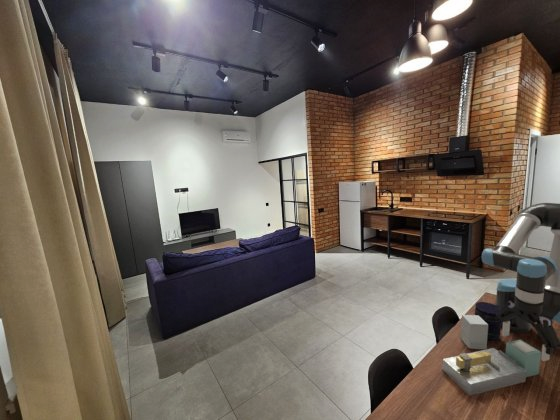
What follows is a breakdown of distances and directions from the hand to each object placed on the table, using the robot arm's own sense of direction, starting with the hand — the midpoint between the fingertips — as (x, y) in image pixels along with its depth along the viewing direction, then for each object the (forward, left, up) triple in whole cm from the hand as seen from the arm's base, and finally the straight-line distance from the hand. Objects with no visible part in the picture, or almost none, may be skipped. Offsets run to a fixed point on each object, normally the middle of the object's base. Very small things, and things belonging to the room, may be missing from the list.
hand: (523, 346), depth 95 cm
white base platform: (+18, -1, -10) cm, 21 cm away
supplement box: (+6, -16, -10) cm, 20 cm away
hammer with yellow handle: (+23, -1, -5) cm, 23 cm away
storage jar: (-5, -19, -10) cm, 22 cm away
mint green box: (+1, 0, -10) cm, 10 cm away
